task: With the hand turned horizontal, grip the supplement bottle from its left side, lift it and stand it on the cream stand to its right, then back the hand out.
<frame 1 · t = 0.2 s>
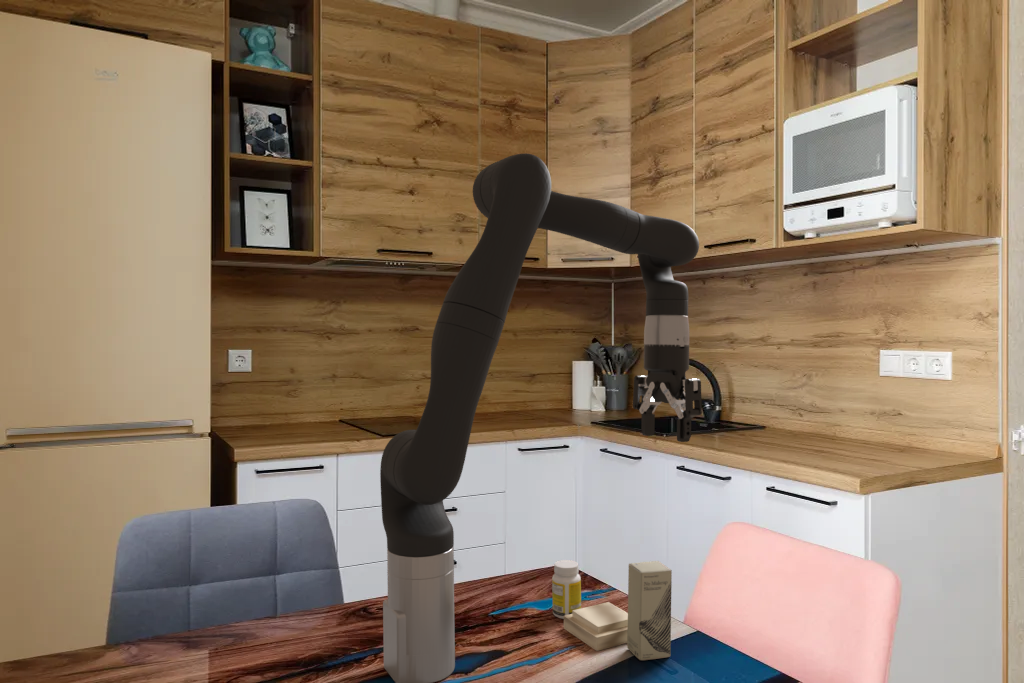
hand: (665, 438, 120), 29 cm above the table, tool pointing down, fingers open, 8 cm apart
supplement bottle: (566, 615, 118), on the table
cream stand: (603, 632, 110), on the table
box: (649, 654, 104), on the table
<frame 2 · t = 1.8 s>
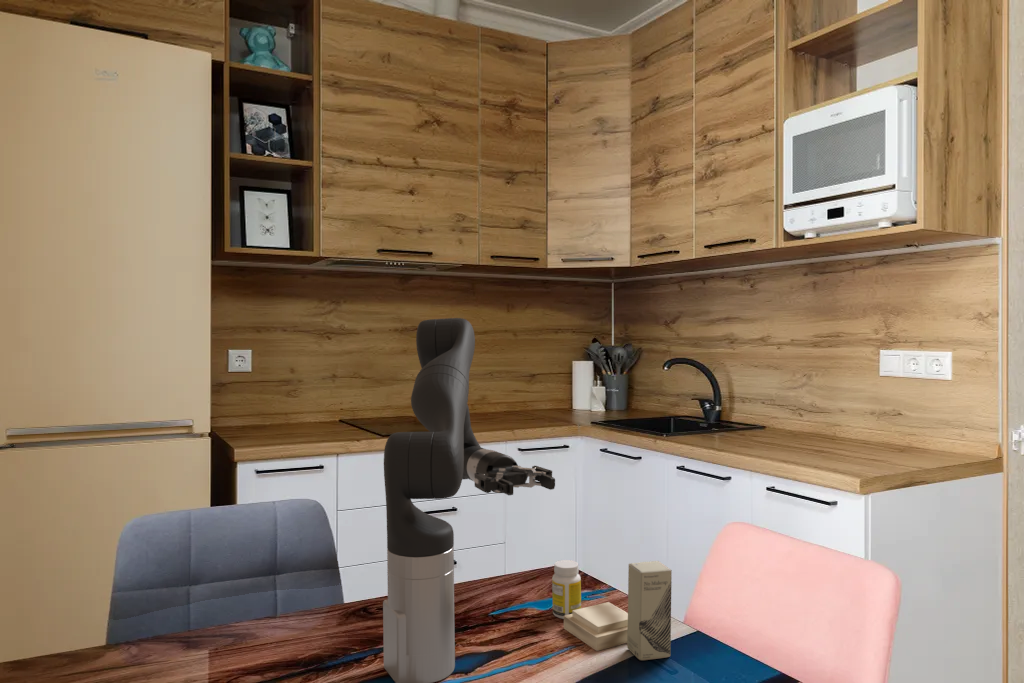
hand: (532, 486, 127), 19 cm above the table, tool horizontal, fingers open, 8 cm apart
nothing on the table moved.
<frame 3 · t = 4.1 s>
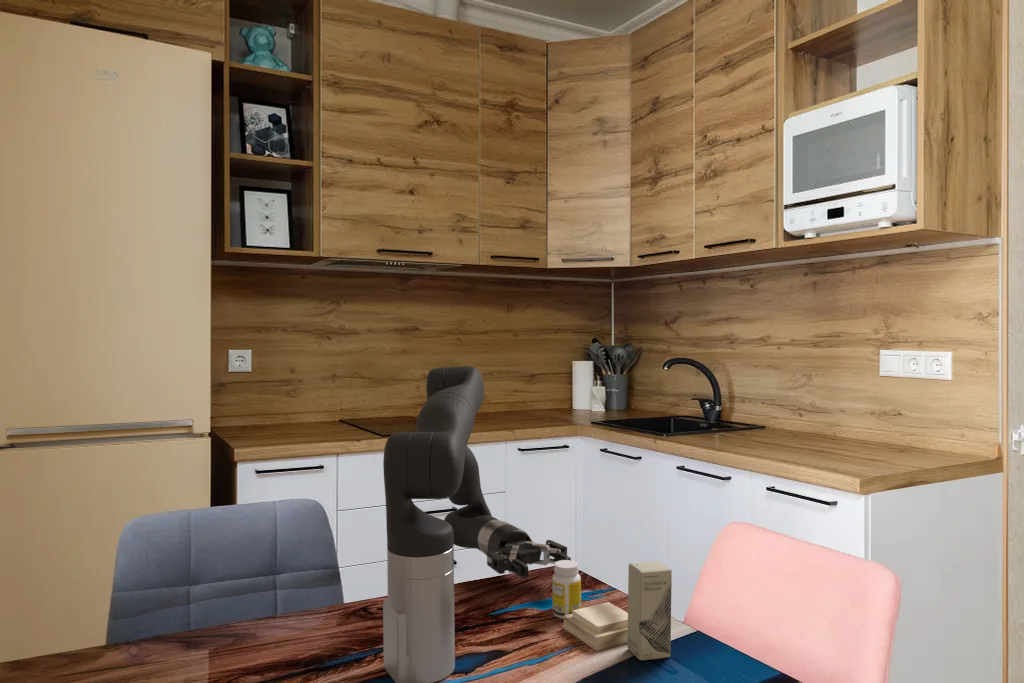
hand: (548, 568, 123), 6 cm above the table, tool horizontal, fingers open, 8 cm apart
nothing on the table moved.
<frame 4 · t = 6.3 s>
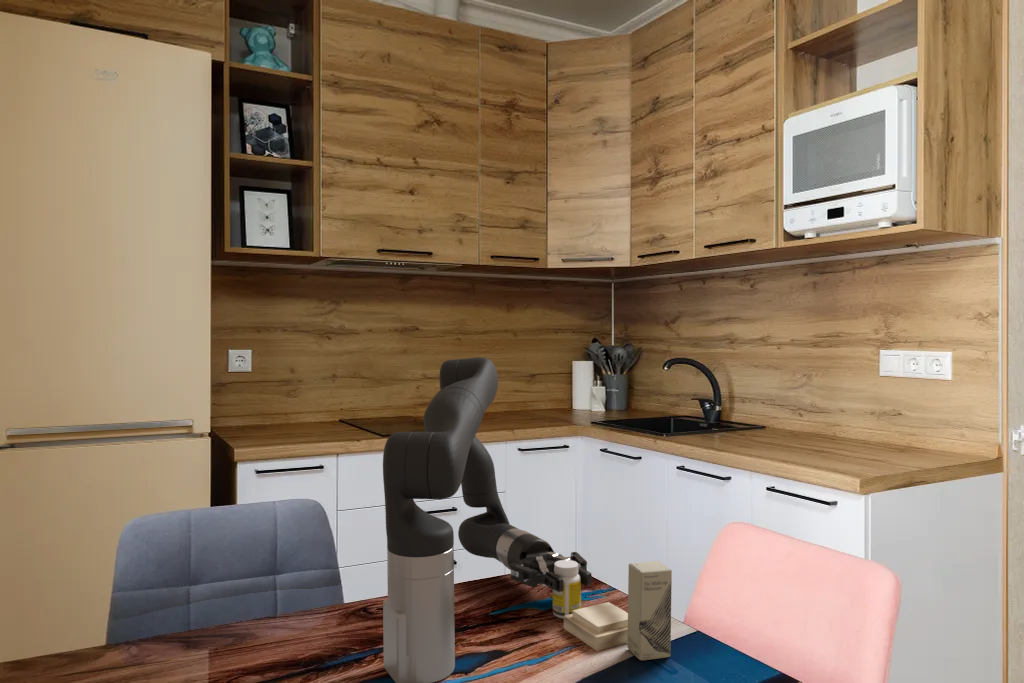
hand: (575, 582, 115), 6 cm above the table, tool horizontal, fingers closed on supplement bottle, 4 cm apart
supplement bottle: (566, 614, 118), on the table, touching gripper
everything else where it was.
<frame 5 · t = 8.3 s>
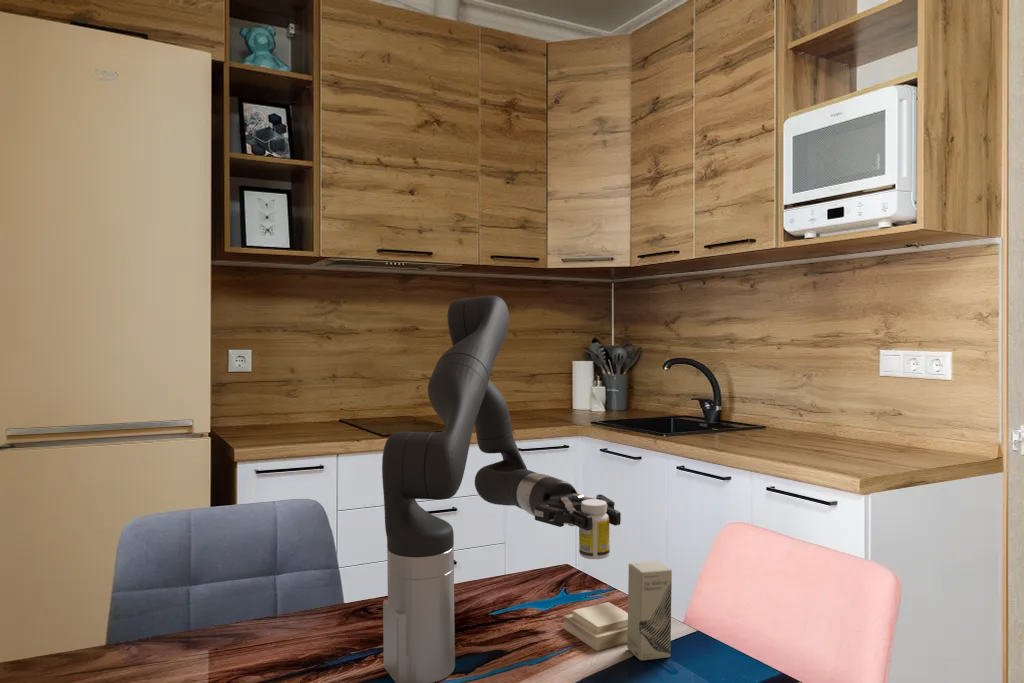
hand: (604, 521, 109), 18 cm above the table, tool horizontal, fingers closed on supplement bottle, 4 cm apart
supplement bottle: (594, 556, 112), point 11 cm above the table, touching gripper
everything else where it was.
when the fingers open (10 cm above the table, at t = 10.7 s): supplement bottle drops 1 cm, resting on cream stand.
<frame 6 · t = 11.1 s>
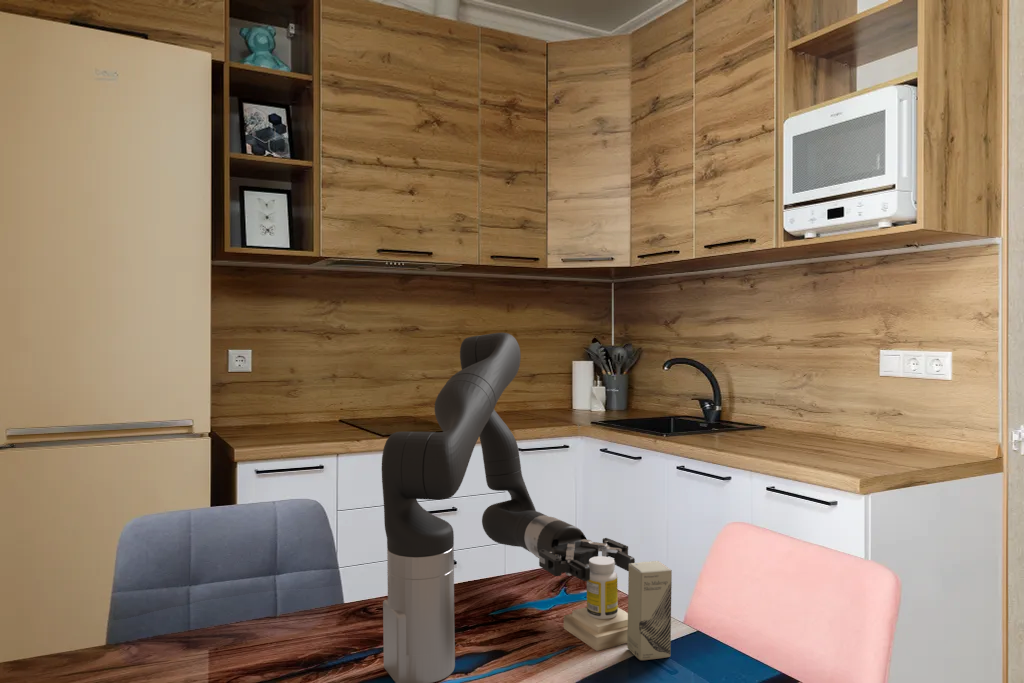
hand: (610, 569, 109), 10 cm above the table, tool horizontal, fingers open, 8 cm apart
supplement bottle: (602, 614, 110), point 3 cm above the table, touching cream stand
everything else where it was.
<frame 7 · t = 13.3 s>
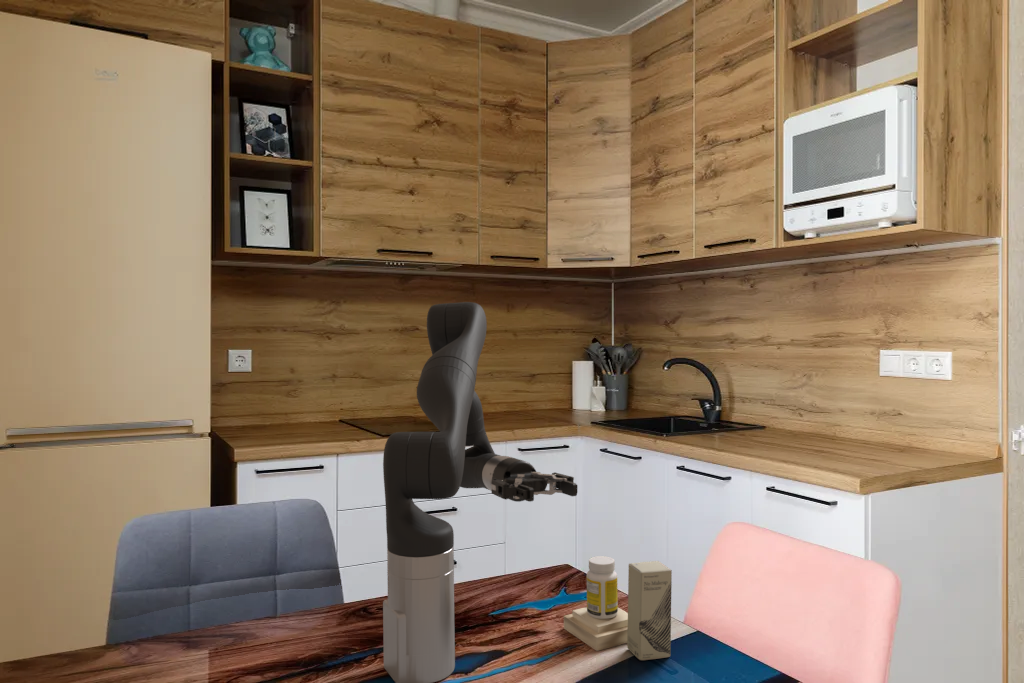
hand: (554, 492, 120), 20 cm above the table, tool horizontal, fingers open, 8 cm apart
nothing on the table moved.
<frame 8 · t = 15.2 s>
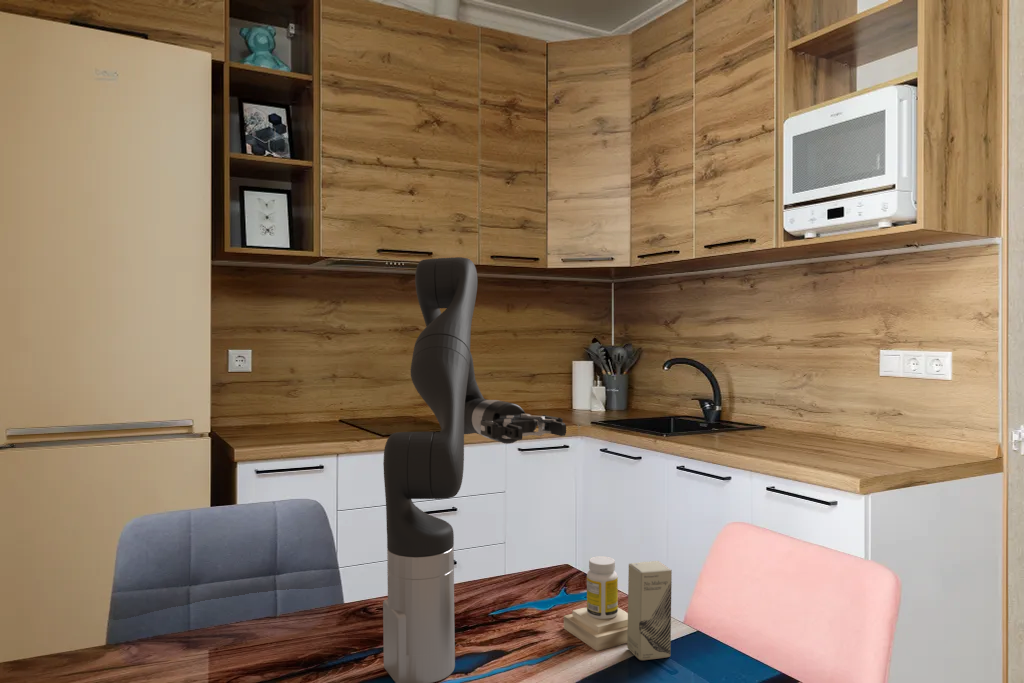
hand: (542, 431, 120), 30 cm above the table, tool horizontal, fingers open, 8 cm apart
nothing on the table moved.
at the end: supplement bottle 0.2 cm off-centre on the cream stand, point 2.8 cm above the cream stand's base; supplement bottle tilted 0°; the gripper is holding nothing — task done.
